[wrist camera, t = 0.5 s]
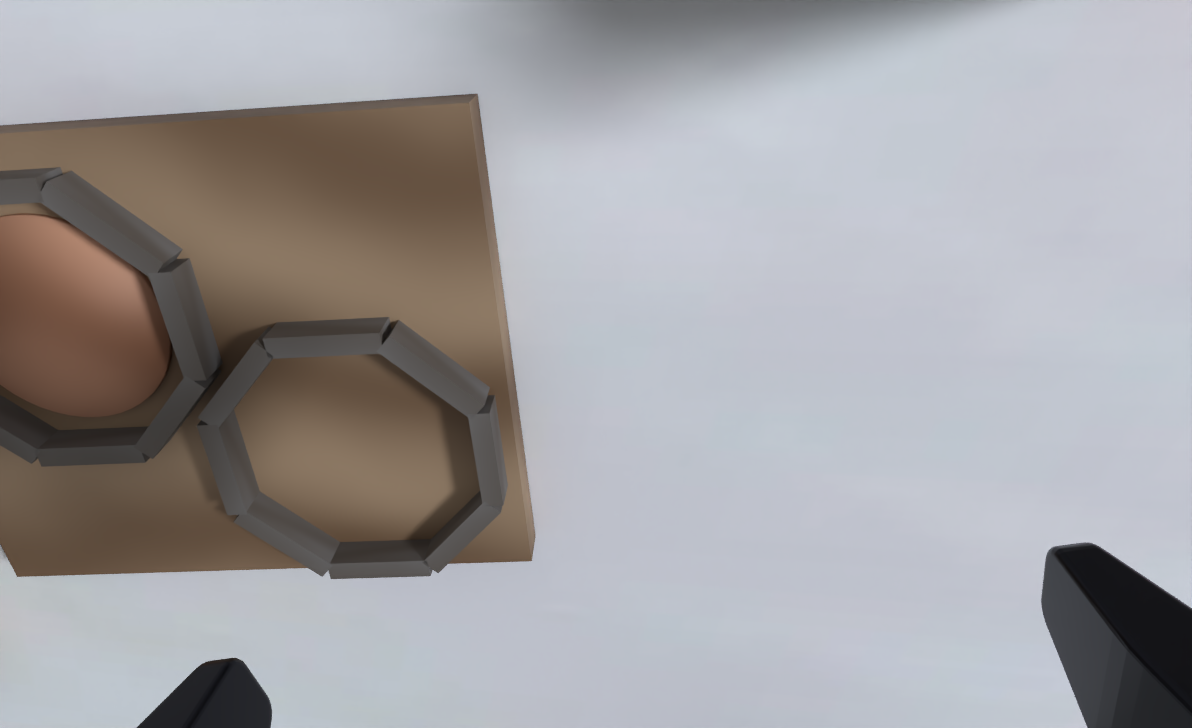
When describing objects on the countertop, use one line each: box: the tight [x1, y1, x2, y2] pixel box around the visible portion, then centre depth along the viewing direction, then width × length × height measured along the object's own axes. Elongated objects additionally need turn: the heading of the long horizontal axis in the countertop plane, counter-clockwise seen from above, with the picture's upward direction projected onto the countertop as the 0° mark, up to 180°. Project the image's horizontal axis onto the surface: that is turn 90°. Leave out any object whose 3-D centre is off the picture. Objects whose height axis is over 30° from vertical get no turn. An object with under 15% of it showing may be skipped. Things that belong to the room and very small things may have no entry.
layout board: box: [0, 94, 535, 579], centre depth 23 cm, size 14×17×2 cm
